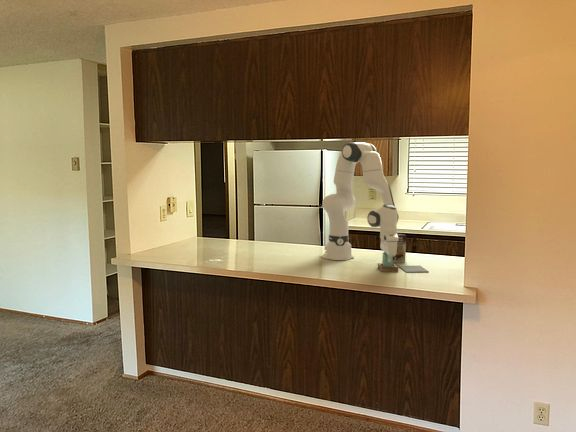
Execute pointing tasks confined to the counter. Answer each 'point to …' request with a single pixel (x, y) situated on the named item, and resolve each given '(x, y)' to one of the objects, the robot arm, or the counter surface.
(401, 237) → the coffee box
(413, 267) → the slate mat
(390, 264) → the teal block
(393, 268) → the walnut collar
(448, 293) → the counter surface
